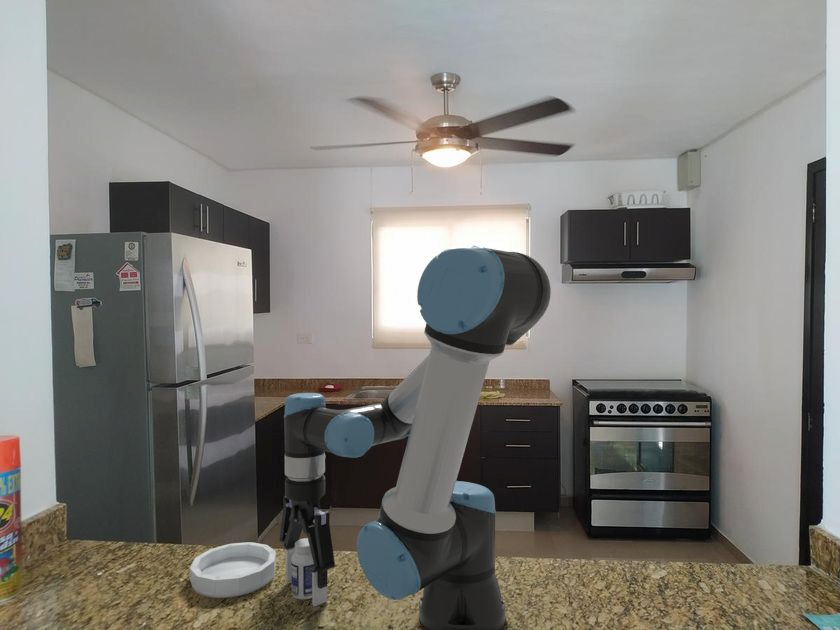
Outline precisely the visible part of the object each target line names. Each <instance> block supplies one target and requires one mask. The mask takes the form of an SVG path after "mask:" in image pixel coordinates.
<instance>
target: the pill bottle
mask: <svg viewBox="0 0 840 630" xmlns="http://www.w3.org/2000/svg"><path fill="white" fill-rule="evenodd" d="M312 569H315V566H314V562H313V558H312V554H311V550H310V546H309V541H308V537H304V538H299V540H298V541H296V542H295V553H294V554H293V555H292V557H291V583H290V584H291V587H290V588H291V589H290V590H291V596H292V597H293V598H294V599H296V600H311V599H312Z"/></svg>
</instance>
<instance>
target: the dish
mask: <svg viewBox="0 0 840 630" xmlns="http://www.w3.org/2000/svg"><path fill="white" fill-rule="evenodd" d="M276 567H277V550H276V551H275V549H274V548H272V547H271V546H269V545H268V544H264V543H258V542H252V541H251V542H250V541H248V542H247V541H246V542H235V543H234V542H233V543H228V544H223V545H220V546H217V547H214V548H210V549H208V550H207V551H205V552H202V553H201V554H200V555H197V556H195V558H194V559H193V561H192V563H191V565H190V567H189V581H190V583H191V587H192V590H193V591H194V592H195V593H197V594H198V595H200V596H203V597H207V598H213V599H226V598H234V597H240V596H243V595H247V594H250V593H251V594H252V592H253V593H254V592H256V591H258V590H259V589H262V588H264V587H265V586H267V585H268V584H269V583H270V582H271V581H273V579H274V577H275V574H276Z"/></svg>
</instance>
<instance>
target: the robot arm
mask: <svg viewBox="0 0 840 630" xmlns="http://www.w3.org/2000/svg"><path fill="white" fill-rule="evenodd" d="M551 289H552V288H551V283H550V279H549V276H548V274H547V272H546V271H545V269H544V267H543V266H542V265H541V264H540V263H539V262H538V261H537V260H536V259H535V258H532V257H531V256H530V255H528V254H524V253H522V252H518V251H516V252H515V251H506V250H499V249H493V248H489V247H488V248H487V247H484V246H477V245H467V246H464V245H463V246H462V245H459V246H452V247H450V248H447V249H445V250H443V251H442V252H440V253H439V254H436V255H435V256H434V257H433V258H432V259H431V260H430V261H429V262H428V264H427V265H426V266H425V268H424V270H423V271H422V274H421V276H420V279H419V282H418V285H417V293H416V294H417V296H416V297H417V304H418V306H420V310H419V313H420V315H421V318H422V320H423V321H424V322H425V323H426V324H425V328H424V335H425V336H426V338H427V340H428V341H429V343H430V350H429V354H428V355H427V356H426V357H425V358H424V359H423V360H422V361H421V362H420V363H419V364H418V365H417V366H416V367H414V369H413V370H412V371H411V372H409V374H408V375H407V376H406V377H405V378H404V379H403V380H402V381H401V382H400V383H399V384H398V385H397V386H396V387H395V388H394V389H393V390H392V391H391V392H390V393H389V394H388V395H387V396H386V397H385V398H384V399H383V400H381V402H379V403H372V404H367V405H363V406H359V407H351V408H348V409H347V408H346V409H332V408H327V405H326V400H325V396H324V395H323V394H321V393H317V392H301V393H300V392H299V393H293V394H291V395H288V396H287V397H286V398H285V401H284V402H285V403H284V414H283V421H284V426H283V427H284V429H283V431H284V475H285V477H286V478H284V496H283V497H282V499H283V501H282V503H283V510H282V516H281V522H280V523H281V525H280V533H279V542H281V543H283V547H284V549H285V584H287V585H289V584H291V557H292V555H293V554H294V553H295V542H296V541H298V540H300V539H301V538H300V537H301V534H302V531H303V533H304V534H306V536H307V537H306V538H308V541H309V546H310V550H311V554H312V558H313V562H314V566H315V569H312V598H311V599H312V600H311V601H312V602H311V603H312V604H311V605H312V606H313V607H317V606H319V605H322V604H325V603H326V602H328V580H329V579H328V571H329V570H332V569H333V568H335V567H336V563H335V555H334V554H335V553H334V549H333V541H332V534H331V527H330V520H331V518H330V517H331V516H330V512H329V511H328V510H326V511H322V510H321V504H320V500H321V498H322V497H324V495H326V476H325V475H324V473H326V453H325V452H327V453H331V454H334V455H335V456H338V457H341V458H353V459H355V458H360V457H362V456H364V455H365V454H366V453H367V452H368V451H369V450H370V449H371V447H373V446H376V445H380V444H384V443H388V442H392V441H399V440H403V439H405V438H407V437H408V439H407V442H406V446H405V451H404V454H403V458H402V462H401V465H400V470H399V473H398V478H397V481H396V486H395V487H392V488H389V490H387V491H386V492H385V494H384V495H383V497H382V499H381V504H380V508H379V512H378V516H377V518H376V519H375V521H373V520H372V521H370V522H367V523H366V525H364V526H363V527H362V528H361V529H360V531H359V533H358V535H357V537H356V552H357V558H358V562H359V563H358V564H359V565H360V567H361V571H362V572H363V574H364V577H365V578H366V580H367V581H368V583H369V584H370V585H371V587H372V588H373V589H374V590H375V591H376V592H377V593H378V594H379V595H381V596H383V597H385V598H386V599H388V600H392V601H398V600H399V601H400V600H403V599H406V598H408V597H409V596H415V595H416V594H417V593H419V592H420V591H421V590H423V591H422V594H421V595H420V598H419V602H418V619H419V622H420V624H421V625H422V627H424V629H426V630H503V627H504V626H505V623H506V604H505V601H504V597H503V596H502V593H501V588H500V585H499V581H498V579H497V575H496V514H497V510H496V501H495V496H494V493H493V492H492V491H491V490H490V489H489V488H487V487H486V486H483V485H481V484H478V483H473V482H469V481H462V480H461V481H459V480H457V479H458V475H459V472H460V469H461V465H462V462H463V461H462V460H463V457H464V454H465V450H466V446H467V443H468V440H469V436H470V432H471V430H472V425H473V422H474V418H475V415H476V411H477V409H478V404H479V400H480V397H481V393H482V390H483V386H484V382H485V379H486V375H487V372H488V368H489V364H490V362H491V361H492V360H494V359H496V358H498V357H500V356H502V355H503V353H504V351H505V347H506V346H507V347H510V346H513V345H514V344H515V343H516V342H517V341H518V340H520V339H521V338H522V337H523V336H524V335H525V334H526V333H528V332H529V331H530V330H531V329H532V328H533V327H534V326H535V325H536V324H537V323H538V322H539V321H540V320H541V319H542V318H543V316H545V315H544V314H545V313H546V311H547V309H548V307H549V304H550V301H551V295H552V294H551V293H552V292H551Z"/></svg>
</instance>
